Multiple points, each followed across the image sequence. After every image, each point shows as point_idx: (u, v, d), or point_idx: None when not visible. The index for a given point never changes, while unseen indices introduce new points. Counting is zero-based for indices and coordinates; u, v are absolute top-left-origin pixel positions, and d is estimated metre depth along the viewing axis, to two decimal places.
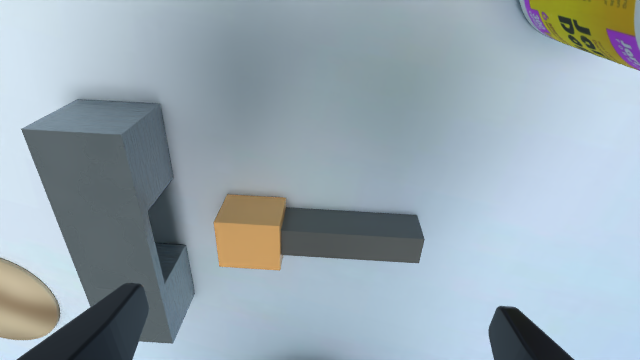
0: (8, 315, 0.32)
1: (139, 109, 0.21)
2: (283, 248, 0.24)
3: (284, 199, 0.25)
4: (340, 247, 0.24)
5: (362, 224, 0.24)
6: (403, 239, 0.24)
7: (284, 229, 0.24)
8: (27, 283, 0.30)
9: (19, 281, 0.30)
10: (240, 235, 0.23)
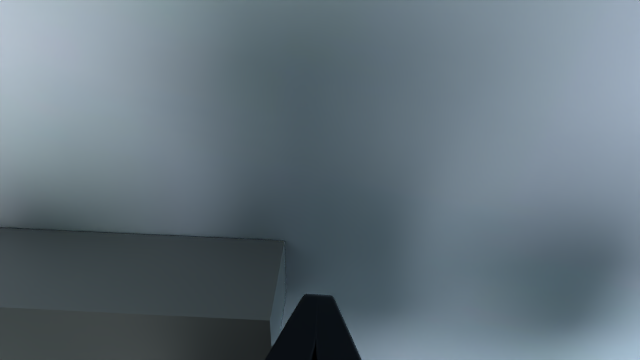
0: None
1: None
2: None
3: None
4: (44, 341, 0.09)
5: (117, 272, 0.09)
6: (209, 321, 0.08)
7: None
8: None
9: None
10: None
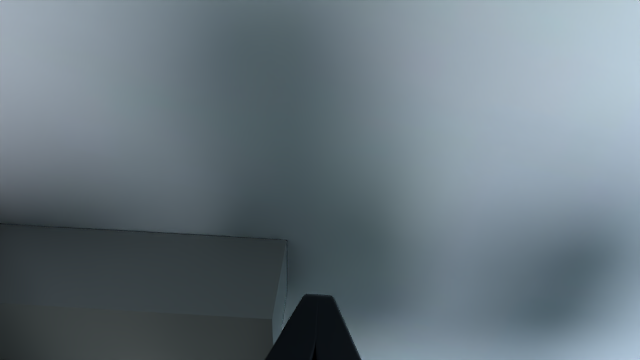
0: None
1: None
2: None
3: None
4: (46, 337, 0.09)
5: (120, 270, 0.09)
6: (211, 319, 0.08)
7: None
8: None
9: None
10: None
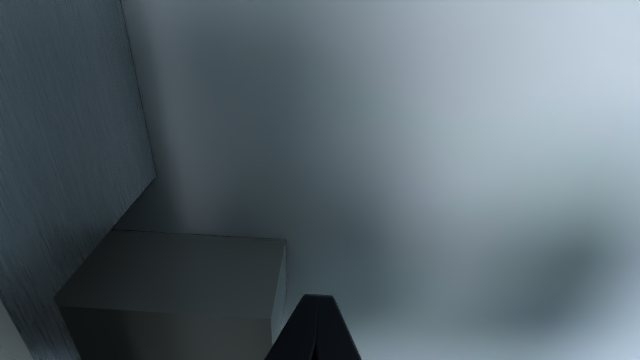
0: None
1: None
2: None
3: None
4: None
5: (119, 269, 0.09)
6: (210, 319, 0.08)
7: None
8: None
9: None
10: None
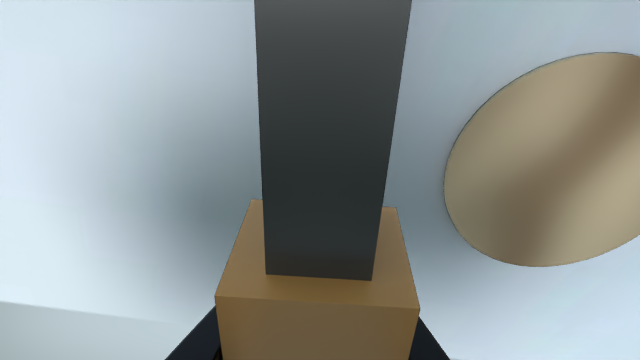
0: (613, 170, 0.15)
1: None
2: (342, 273, 0.07)
3: (249, 207, 0.09)
4: (334, 72, 0.05)
5: None
6: None
7: (268, 259, 0.07)
8: (540, 89, 0.14)
9: (529, 104, 0.14)
10: None
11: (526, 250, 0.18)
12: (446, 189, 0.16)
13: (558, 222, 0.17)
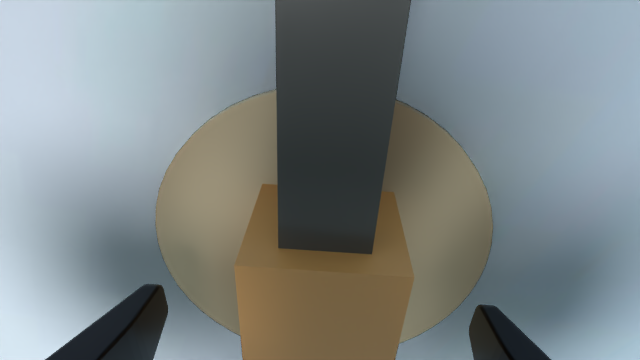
0: None
1: None
2: (346, 247, 0.08)
3: (260, 190, 0.10)
4: (342, 70, 0.06)
5: None
6: None
7: (281, 235, 0.08)
8: (234, 137, 0.10)
9: (228, 157, 0.10)
10: (279, 345, 0.09)
11: None
12: (167, 264, 0.12)
13: None
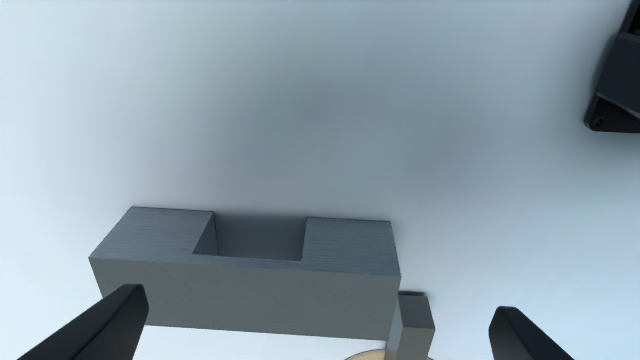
0: None
1: None
2: None
3: None
4: None
5: (391, 349, 0.26)
6: (401, 340, 0.24)
7: None
8: None
9: None
10: None
11: None
12: None
13: None
